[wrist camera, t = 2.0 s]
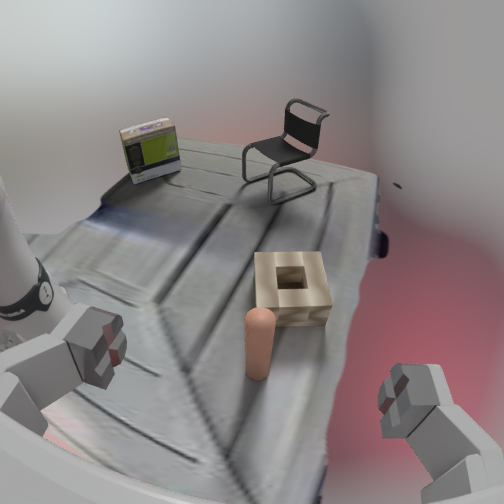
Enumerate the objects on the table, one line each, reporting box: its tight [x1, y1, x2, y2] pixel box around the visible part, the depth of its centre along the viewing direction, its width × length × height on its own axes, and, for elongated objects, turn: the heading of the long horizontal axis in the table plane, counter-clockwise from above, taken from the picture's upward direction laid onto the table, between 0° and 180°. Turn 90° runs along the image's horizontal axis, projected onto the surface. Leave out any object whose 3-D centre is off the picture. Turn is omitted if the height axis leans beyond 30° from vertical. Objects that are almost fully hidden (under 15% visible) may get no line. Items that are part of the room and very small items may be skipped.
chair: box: [242, 99, 330, 204], centre depth 75 cm, size 13×17×22 cm
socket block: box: [254, 252, 332, 327], centre depth 54 cm, size 12×12×6 cm
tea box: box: [119, 117, 181, 184], centre depth 84 cm, size 15×10×15 cm, turn 118°
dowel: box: [245, 307, 276, 381], centre depth 41 cm, size 4×4×15 cm
